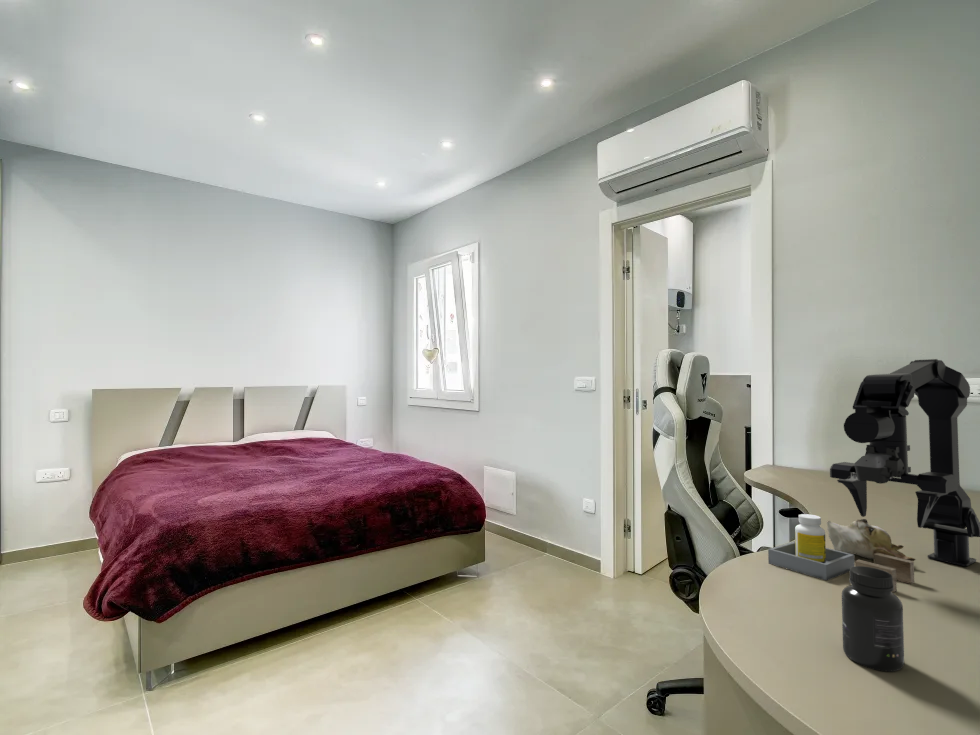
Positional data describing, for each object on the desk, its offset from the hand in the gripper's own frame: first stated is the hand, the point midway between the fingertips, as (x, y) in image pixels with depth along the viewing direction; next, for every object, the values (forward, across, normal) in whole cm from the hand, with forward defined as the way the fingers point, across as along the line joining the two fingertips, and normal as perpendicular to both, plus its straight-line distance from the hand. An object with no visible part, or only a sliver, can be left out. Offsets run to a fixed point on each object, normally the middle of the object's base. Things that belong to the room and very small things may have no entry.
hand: (890, 521), depth 97 cm
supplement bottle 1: (+11, -13, -4) cm, 18 cm away
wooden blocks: (+12, -1, 0) cm, 12 cm away
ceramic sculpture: (+12, -10, +13) cm, 21 cm away
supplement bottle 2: (+12, +11, -34) cm, 38 cm away
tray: (+12, -13, -4) cm, 18 cm away
